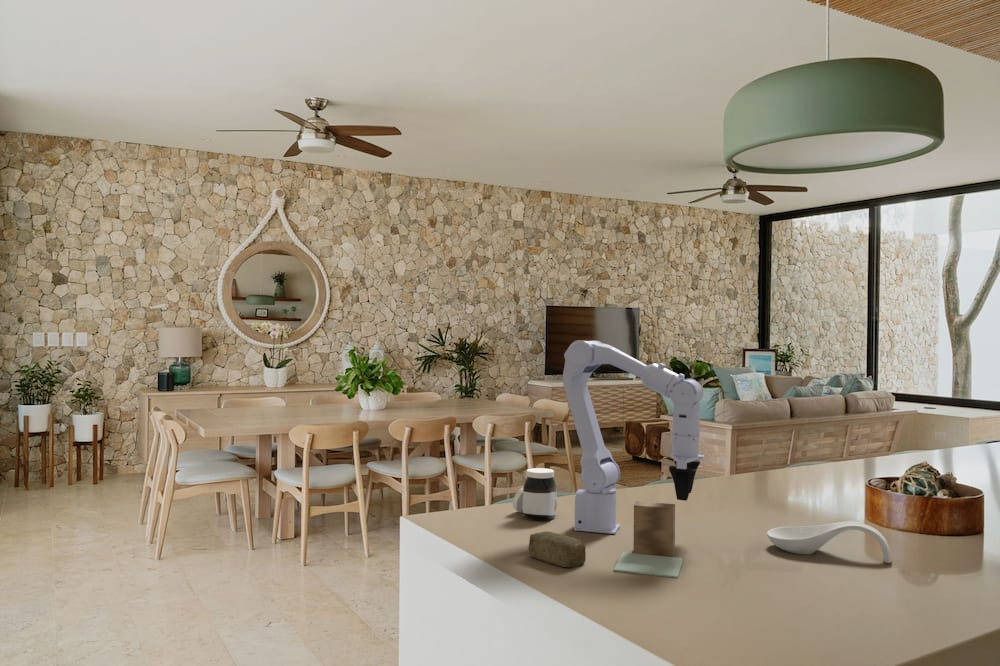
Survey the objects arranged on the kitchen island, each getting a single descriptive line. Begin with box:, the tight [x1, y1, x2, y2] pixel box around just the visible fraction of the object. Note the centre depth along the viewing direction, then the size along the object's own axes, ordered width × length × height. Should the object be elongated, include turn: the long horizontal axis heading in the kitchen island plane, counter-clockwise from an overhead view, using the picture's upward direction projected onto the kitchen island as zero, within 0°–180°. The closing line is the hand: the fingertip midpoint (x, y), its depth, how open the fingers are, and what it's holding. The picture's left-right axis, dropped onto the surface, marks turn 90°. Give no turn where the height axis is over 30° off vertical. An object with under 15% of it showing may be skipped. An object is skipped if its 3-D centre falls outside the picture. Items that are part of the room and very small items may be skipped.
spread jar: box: [512, 467, 558, 522], centre depth 185 cm, size 12×11×12 cm
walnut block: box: [633, 501, 676, 557], centre depth 154 cm, size 8×4×10 cm, turn 72°
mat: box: [613, 552, 684, 579], centre depth 145 cm, size 12×12×1 cm
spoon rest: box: [766, 520, 892, 564], centre depth 155 cm, size 24×12×7 cm, turn 65°
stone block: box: [527, 531, 587, 568], centre depth 148 cm, size 6×12×5 cm, turn 44°
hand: (684, 496), depth 163 cm, fingers open, 7 cm apart
